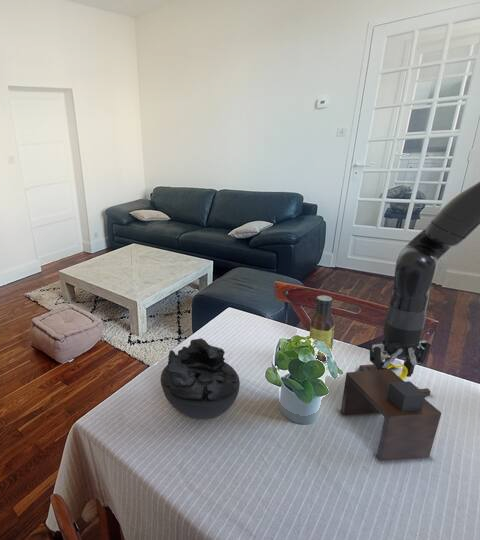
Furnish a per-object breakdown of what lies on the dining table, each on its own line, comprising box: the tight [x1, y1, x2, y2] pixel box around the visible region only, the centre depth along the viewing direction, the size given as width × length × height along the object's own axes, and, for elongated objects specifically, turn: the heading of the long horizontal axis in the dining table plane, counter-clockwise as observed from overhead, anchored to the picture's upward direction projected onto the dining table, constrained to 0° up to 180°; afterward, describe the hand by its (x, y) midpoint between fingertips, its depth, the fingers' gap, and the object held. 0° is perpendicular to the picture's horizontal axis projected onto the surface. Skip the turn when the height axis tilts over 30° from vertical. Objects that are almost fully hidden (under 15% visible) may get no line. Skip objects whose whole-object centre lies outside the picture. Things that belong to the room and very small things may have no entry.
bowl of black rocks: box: [160, 337, 241, 420], centre depth 87 cm, size 20×20×19 cm
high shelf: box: [340, 369, 442, 462], centre depth 75 cm, size 10×14×12 cm
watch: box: [387, 359, 408, 381], centre depth 91 cm, size 6×3×6 cm, turn 86°
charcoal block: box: [387, 380, 426, 412], centre depth 69 cm, size 4×4×4 cm
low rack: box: [358, 363, 432, 397], centre depth 91 cm, size 10×12×2 cm
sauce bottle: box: [309, 294, 336, 361], centre depth 102 cm, size 7×6×20 cm
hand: (393, 375), depth 91 cm, fingers closed on watch, 6 cm apart
